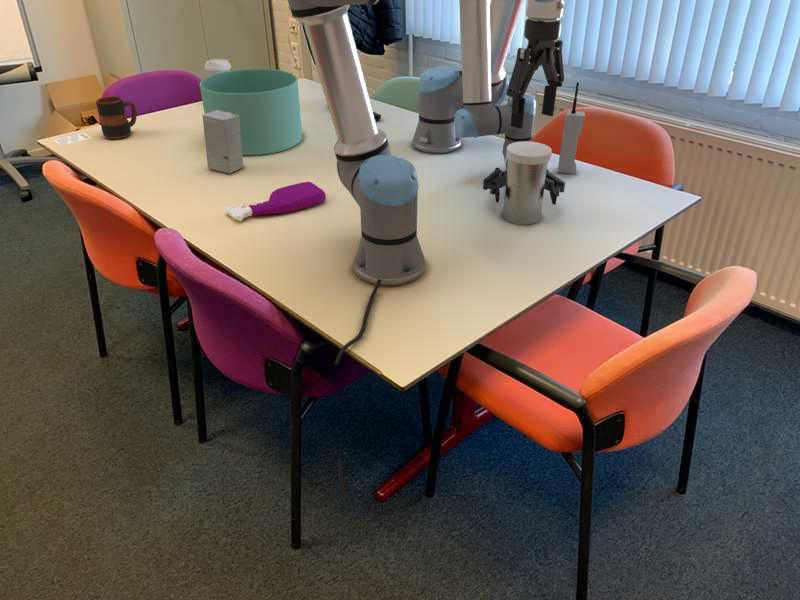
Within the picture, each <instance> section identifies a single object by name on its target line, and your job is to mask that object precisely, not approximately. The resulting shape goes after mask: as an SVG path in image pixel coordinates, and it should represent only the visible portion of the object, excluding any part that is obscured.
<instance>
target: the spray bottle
mask: <svg viewBox="0 0 800 600" xmlns="http://www.w3.org/2000/svg"><path fill="white" fill-rule="evenodd" d="M326 200H327V195H326V192H325V191H324V190H323V189H322V188H321V187H319V186H317V185H316V184H314V183H313V182H312V181H304V182H298V183H293V184H290V185H286V186H283V187H280V188H276V189H274V190H273V191H272V192H271V193H270V195H269V198H268V200H266V201H263V202H258V203H257V204H249V205H248V206H247V207H246V204H244V203H243V204H242V205H240V206H238V207H228V206H225V207H224V211H225V212H226V214H228V215H229V216H230V217H231V218H232V219H233V220H235V221H236V220H237V221H239V222H242V220H244V219H245V218H248V217H250V216H260V215H272V214H287V213H291V212H296V211H299V210H304V209H307V208H310V207H313V206H316V205H320V204H322V203H324V202H325V201H326Z"/></svg>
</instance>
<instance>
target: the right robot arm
mask: <svg viewBox="0 0 800 600" xmlns="http://www.w3.org/2000/svg"><path fill="white" fill-rule="evenodd" d="M458 2H459V3H458V4H459V29H460V31H459V32H460V54H461V57H460V58H461V70H459V68H458V67H457V66H454V65H438V66H433V67H430V68H428V69H425V70H424V71H422V73H421V74H420V76H419V86H418V123H417V125H416V128H415V130H414V133H413V137H412V147H413V148H414V149H415V150H417V151H419V152H422V153H428V154H448V153H453V152H455V151H458V150H459V149H461V147H462V138H464V139H466V138H474V139H475V138H479V137H487V136H495V135H496V136H497V135H504V142H503V144H502V155H503V160H504V165H505V170H502V169H501V168H500V167H495V168H494V171H492V172H491V173H490V174H489V175H487V176H486V177H485V178H484V179H483V181H482V190H484V191H486V190H489V194H490V195H494V198H495V203H496V204H500V196H501V195H500V194H501V192H500V191H501V190H500V189H501V188H505V187H506V176H507V166H508V158H507V156H506V150H507V146H508V145H509V144H511V143H515V142H522V141H529V142H533V132H534V125H535V119H536V111H537V110H536V109H537V101H536V99H535V97H534V96H531V95H529V94H524V96H523V98H526V99H525V108H524V118H523V127H522V128H521V129H520V128H516V127H512V126H511V116H512V100H513V99H512V97H510V96H507V95H506V93H507V89H508V86H509V83H510V79H509V75H508V73H507V72H506V68H505V65H504V64H505V60H506V58H507V55H508V52H509V49H510V46H511V43H512V40H513V38H514V37H513V36H514V35H515V31H516V28H517V25H518V23H519V19H520V16H521V13H522V10H523V7H524V4H525V2H526V0H458ZM507 97H508V99H507V102H506V104H503V103H504V101H505V100H506V98H507ZM565 187H566V182H565V181H564V180H562V179H561V178H559V177H557V176H556V175H555V174H553V173H552V172H550V170H549V169H547V172H546V179H545V187H544V190H546V191H548V192H549V197H550V200H551V204H552V205H553V206H556V205H557V200H558V199H557V198H558V197H559V196H560V193H564V192H565Z"/></svg>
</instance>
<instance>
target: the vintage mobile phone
mask: <svg viewBox="0 0 800 600" xmlns="http://www.w3.org/2000/svg"><path fill="white" fill-rule="evenodd" d="M579 87H580V82H576V86H575V92H574V98H573V103H572V109H571V110H566V111H565V116H564V121H563V123H564V124H563V131H562V138H561V144H560V152H559V158H558V166H557V172H558V173H559V174H570V175H571V174H572V175H576V174H577V164H576V161H575V160H576V155H577V154H576V153H577V147H578V140H579V137H580V135H581V134H582V130H583V126H584V122H585V119H586V112H585V111H577V103H578V92H579Z"/></svg>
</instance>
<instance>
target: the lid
mask: <svg viewBox="0 0 800 600" xmlns="http://www.w3.org/2000/svg"><path fill="white" fill-rule="evenodd" d="M552 154H553V152H552V148H551V147H550V146H549V145H547V144H545V143H542V142H541V143H540V142H537V141H532V142H529V141H522V142H515V143H511V144H509V145H508V146H507V150H506V156H507V158H508V159H509V160H511V161H513V162H516V163H521V164H529V165H535V164H543V163H546V162H548V163H549V161H551V159H552Z"/></svg>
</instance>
